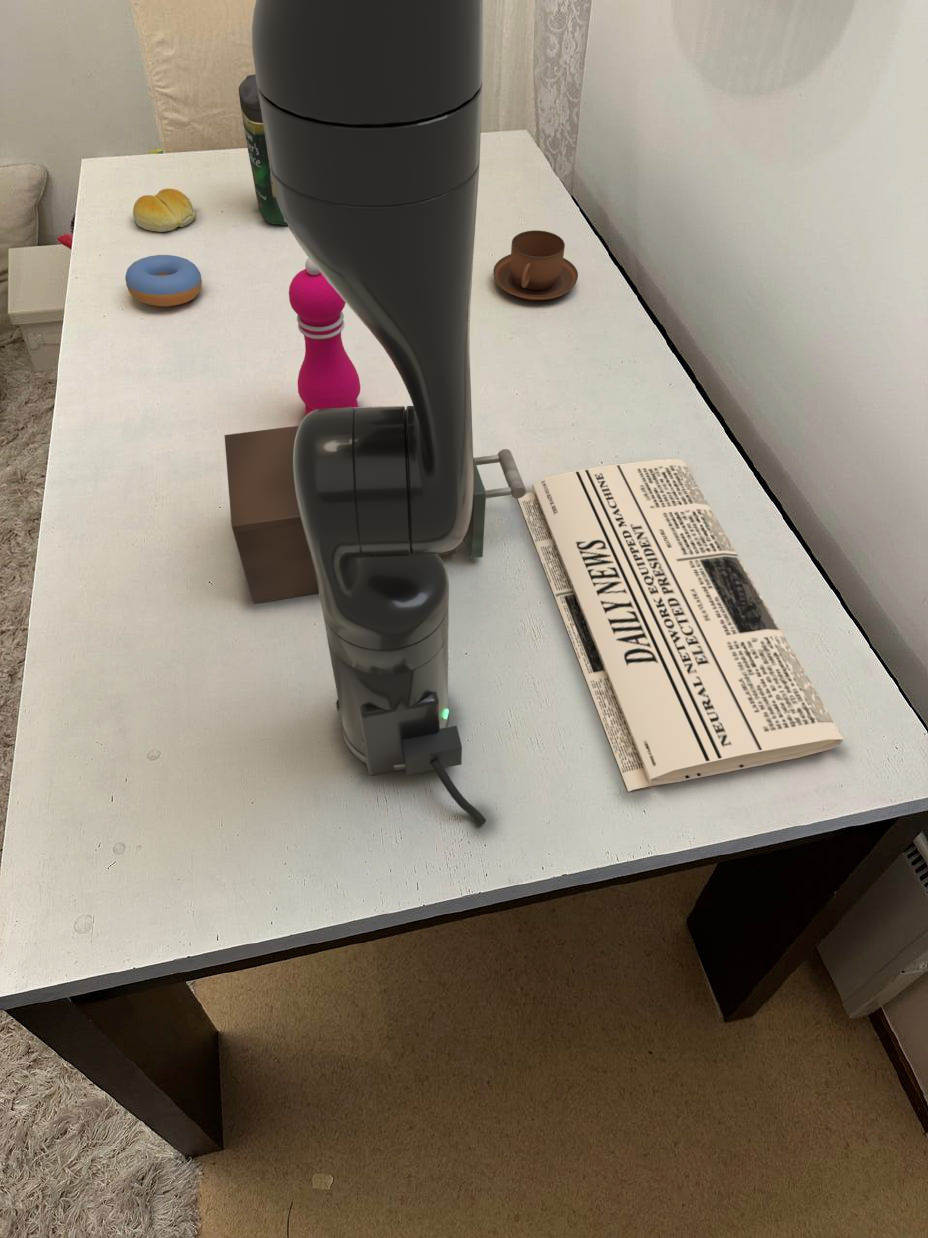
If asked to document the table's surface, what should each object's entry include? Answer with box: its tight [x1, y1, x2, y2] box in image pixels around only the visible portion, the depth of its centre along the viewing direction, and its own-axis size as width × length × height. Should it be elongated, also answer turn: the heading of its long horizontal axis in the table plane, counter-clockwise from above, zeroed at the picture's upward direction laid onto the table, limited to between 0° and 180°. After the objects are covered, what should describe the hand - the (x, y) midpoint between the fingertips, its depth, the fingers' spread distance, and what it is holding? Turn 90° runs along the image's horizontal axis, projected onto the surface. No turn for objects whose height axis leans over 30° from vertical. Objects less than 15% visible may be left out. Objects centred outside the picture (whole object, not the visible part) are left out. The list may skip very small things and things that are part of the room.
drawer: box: [438, 448, 527, 559], centre depth 86 cm, size 19×12×9 cm, turn 103°
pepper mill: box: [288, 257, 361, 416], centre depth 94 cm, size 7×7×20 cm
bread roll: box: [132, 188, 197, 233], centre depth 129 cm, size 8×9×4 cm
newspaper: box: [517, 458, 844, 792], centre depth 83 cm, size 37×19×3 cm, turn 13°
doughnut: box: [124, 254, 203, 307], centre depth 115 cm, size 10×10×5 cm
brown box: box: [224, 425, 319, 604], centre depth 84 cm, size 15×13×11 cm
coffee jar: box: [238, 74, 288, 226], centre depth 125 cm, size 10×8×19 cm
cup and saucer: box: [492, 229, 579, 301], centre depth 118 cm, size 12×12×6 cm
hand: (423, 379), depth 75 cm, fingers open, 8 cm apart
